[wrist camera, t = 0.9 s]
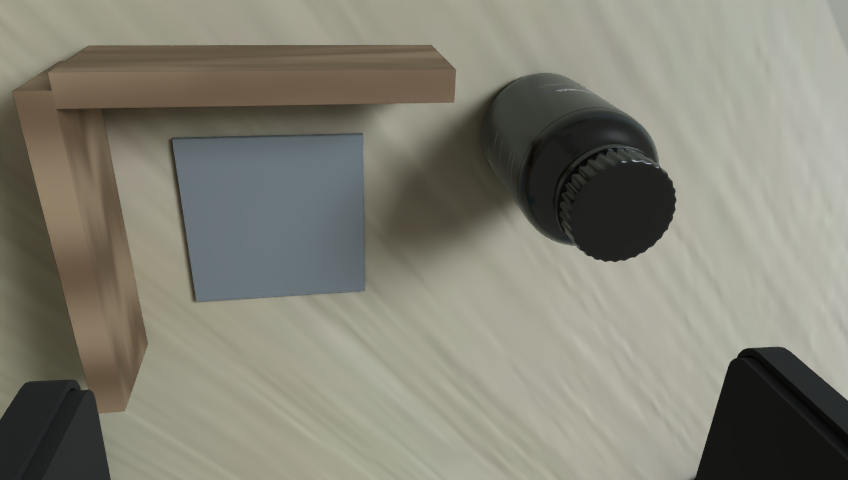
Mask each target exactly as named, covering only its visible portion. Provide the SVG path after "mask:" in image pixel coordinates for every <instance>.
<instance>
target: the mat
mask: <svg viewBox="0 0 848 480" xmlns="http://www.w3.org/2000/svg"><path fill="white" fill-rule="evenodd" d="M172 142H173V149H174V156H175V162H176V169H177V176H178V182H179V189H180V196H181V202H182V209H183V216H184V222H185V229H186V236H187V242H188V249H189V256H190V263H191V269H192V276H193V283H194V289H195V296H196V302H200V301H216V300H232V299H247V298H263V297H278V296H294V295H310V294H325V293H341V292H356V291H365V270H364V195H363V134H362V133H356V134H314V135H272V136H229V137H187V138H173V139H172Z"/></svg>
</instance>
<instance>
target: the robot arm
mask: <svg viewBox="0 0 848 480" xmlns="http://www.w3.org/2000/svg"><path fill="white" fill-rule="evenodd" d="M0 480H111V479H110V474H109V468H108V463H107V458H106V452H105V447H104V442H103V436H102V431H101V426H100V420H99V415H98V409H97V404H96V399H95V395H94V393H93V391H91V390H81V389H80V385H79V384H78V382H77V381H75V380H54V381H32V382H27V383H25V384H24V385H23V386H22V388H21V389H20V390H19V392H18V393H17V395H16V396H15V398H14V400H13V401H12V403H11V404H10V406H9V407H8V409H7V410H6V412H5V413H4V415H3V416H2V418H1V420H0ZM695 480H848V401H847V400H846V399H845V398H844V397H843V396H842V395H840V394H839V393H838V392H837V391H836V390H835V389H833V388H832V387H831V386H830V385H829V384H828V383H826V382H825V381H824V380H823V379H822V378H821V377H819V376H818V375H817V374H816V373H815V372H814V371H812V370H811V369H810V368H809V367H808V366H807V365H805V364H804V363H803V362H802V361H801V360H799V359H798V358H797V357H796V356H795V355H794V354H792V353H791V352H790V351H789V350H787V349H785V348H782V347H764V348H747V349H744V350H742V351H741V352H740V353H739V354H738V357H737V358H736V359H733V360H732V361H731V362H730V364H729V366H728V370H727V373H726V376H725V380H724V383H723V386H722V390H721V393H720V397H719V400H718V403H717V407H716V410H715V414H714V417H713V420H712V424H711V427H710V430H709V434H708V437H707V441H706V444H705V447H704V451H703V454H702V458H701V461H700V464H699V468H698V471H697V474H696V478H695Z"/></svg>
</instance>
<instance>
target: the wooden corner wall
mask: <svg viewBox="0 0 848 480" xmlns="http://www.w3.org/2000/svg"><path fill="white" fill-rule="evenodd" d="M455 77H456V69H455V68H454V67H453V66H452V65H451V64H450V63H449V62H448V61H447V60H446V59H445V58H444V57H443V56H442V55H441V54H440V53H439V52H438V51H437V50H436V49H435V48H434V47H433V46H432V45H210V46H88V47H86V48H85V49H83V50H82V51H80V52H79V53H77V54H76V55H74V56H73V57H71V58H70V59H68V60H66V61H59V62H58V63H56V64H55V65H53V66H52V67H50V68H48V69H47V70H45V71H44V72H42V73H41V74H39V75H37V76H36V77H34V78H33V79H31V80H30V81H28V82H26V83H25V84H23V85H22V86H20V87H19V88H17V89H15V90H14V91H12V92H13V96H14V100H15V104H16V108H17V112H18V116H19V120H20V124H21V128H22V131H23V135H24V139H25V143H26V147H27V151H28V155H29V159H30V163H31V167H32V171H33V175H34V178H35V182H36V186H37V190H38V194H39V198H40V202H41V206H42V210H43V214H44V218H45V222H46V225H47V229H48V233H49V237H50V241H51V245H52V249H53V253H54V257H55V261H56V265H57V269H58V272H59V276H60V280H61V284H62V288H63V292H64V296H65V300H66V304H67V308H68V312H69V316H70V320H71V323H72V327H73V331H74V335H75V339H76V343H77V347H78V351H79V355H80V359H81V363H82V367H83V370H84V374H85V378H86V382H87V386H88V390H91V391H93V393H94V395H95V399H96V404H97V409H98V413H110V412H121V411H125V409H126V406H127V404H128V401H129V398H130V395H131V392H132V389H133V386H134V383H135V380H136V377H137V374H138V371H139V369H140V366H141V363H142V360H143V357H144V354H145V351H146V348H147V345H148V343H147V338H146V333H145V328H144V323H143V318H142V313H141V308H140V302H139V297H138V292H137V287H136V282H135V277H134V272H133V267H132V262H131V256H130V251H129V246H128V241H127V236H126V231H125V226H124V221H123V216H122V210H121V205H120V200H119V195H118V190H117V185H116V180H115V175H114V170H113V165H112V159H111V154H110V149H109V144H108V139H107V134H106V129H105V124H104V119H103V113H102V108H145V107H206V106H268V105H329V104H391V103H453V102H454V96H455Z"/></svg>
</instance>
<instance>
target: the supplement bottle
mask: <svg viewBox="0 0 848 480" xmlns="http://www.w3.org/2000/svg"><path fill="white" fill-rule="evenodd" d="M482 147H483V151H484V154H485V157H486V159H487V162H488V163H489V165H490V167H491V168H492V170H493V172H494V173H495V174H496V176H497V177H498V179H499V180H500V181H501V183H502V184H503V186H504V187H505V188H506V190H507V191H508V193H509V194H510V195H511V197H512V198H513V200H514V201H515V202H516V204H517V205H518V207H519V208H520V209H521V211H522V212H523V214H524V215H525V216H526V218H527V219H528V221H529V222H530V223H531V224H532V225H533V226H534V227H535V228H536V230H538V231H539V232H540V233H541V234H542V235H544V236H545V237H547V238H549V239H551V240H553V241H555V242H558V243H561V244H565V245H571V246H576V247H577V248H578V249H579V250H581V251H583V252H584V253H585V254H586V255H587V256H592V257H593V258H594V259H596V260H603V261H605V262H607V261H613V262H617V261H619V260H627V259H629V258H631V257H636V256H637V255H638V254H640V253H643V252H645V251H646V250H647V249H648V248H649V247H652V246H654V244H655V243H656V241H657V240H659V239H660V238H661V237H662V235H663V233H664V232H665V231H666V230H667V229H668V226H669V224H670V222H671V221H672V220H673V213H674V212H675V203H676V197H675V189H674V187H673V182H672V180H671V179H670V178H669V177H668V174H667V172H666V171H665V170H663V169H662V168H661V167H660V166H659V158H658V153H657V150H656V146H655V144H654V142H653V140H652V138H651V136H650V135H649V133H648V132H647V131H646V129H645V128H644V127H643V126H642V125H641V124H639V123H638V122H637V121H636V120H635V119H633V118H632V117H630V116H629V115H627V114H626V113H624V112H623V111H621V110H620V109H618V108H616V107H615V106H613V105H612V104H610V103H609V102H607V101H605V100H604V99H602V98H601V97H599V96H597V95H596V94H594V93H593V92H591V91H590V90H588V89H586V88H585V87H583V86H582V85H580V84H578V83H577V82H575V81H573V80H571V79H569V78H567V77H564V76H562V75H558V74H552V73H538V74H532V75H529V76H526V77H523V78H520V79H518V80H516V81H515V82H513V83H511V84H510V85H509V86H507V87H506V88H505V89H504V90H502V91H501V92H500V93H499V95H498V96H497V97H496V98H495V99H494V101H493V102H492V104H491V105H490V107H489V109H488V111H487V113H486V116H485V119H484V122H483V127H482Z"/></svg>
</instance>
